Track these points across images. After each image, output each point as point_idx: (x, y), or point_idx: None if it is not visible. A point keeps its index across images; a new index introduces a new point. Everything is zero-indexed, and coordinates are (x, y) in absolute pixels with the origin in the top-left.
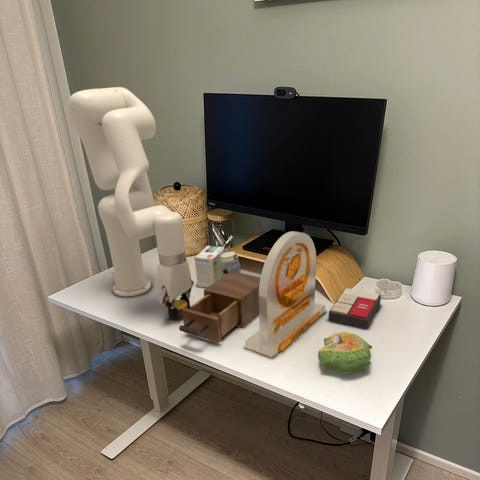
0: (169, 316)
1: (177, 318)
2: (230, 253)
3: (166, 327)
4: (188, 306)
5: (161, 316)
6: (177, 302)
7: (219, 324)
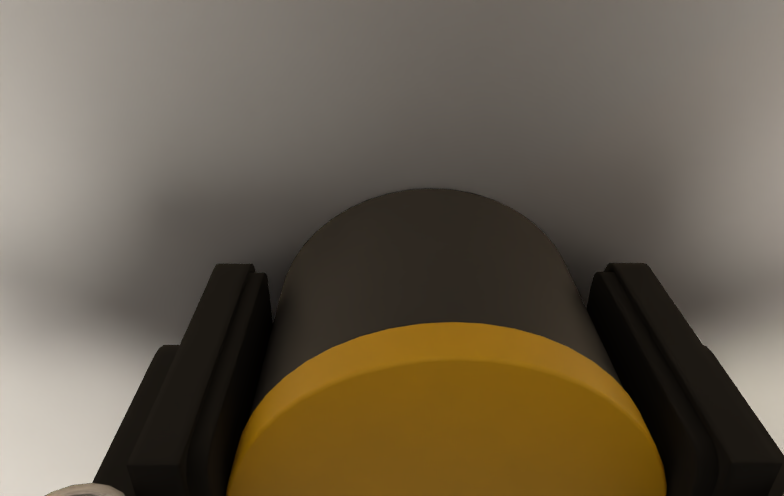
0: (167, 347)
1: None
2: None
3: (16, 357)
4: None
5: (212, 40)
6: (489, 485)
7: None
